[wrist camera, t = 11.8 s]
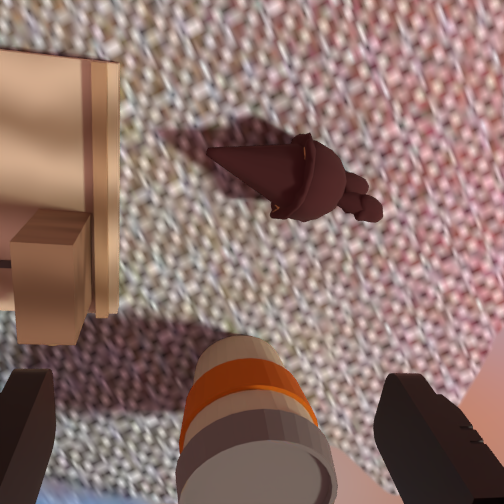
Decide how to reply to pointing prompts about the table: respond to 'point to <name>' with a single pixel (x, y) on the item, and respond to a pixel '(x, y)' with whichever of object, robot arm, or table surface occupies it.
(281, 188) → the icecream
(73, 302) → the block
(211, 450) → the reusable coffee cup
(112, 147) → the board
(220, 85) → the table surface
